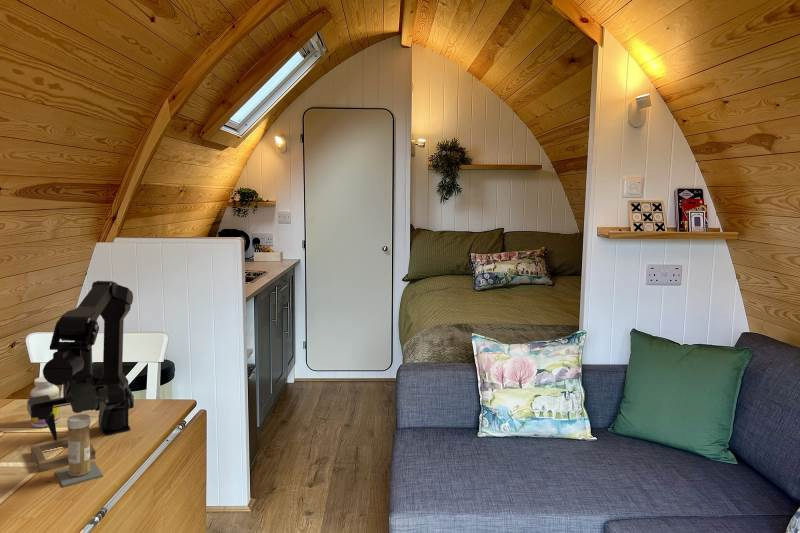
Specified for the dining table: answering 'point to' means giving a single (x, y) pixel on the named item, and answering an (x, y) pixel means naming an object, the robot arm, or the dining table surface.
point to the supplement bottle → (41, 390)
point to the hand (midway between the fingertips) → (78, 435)
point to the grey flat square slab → (71, 480)
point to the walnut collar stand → (57, 461)
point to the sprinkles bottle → (78, 444)
